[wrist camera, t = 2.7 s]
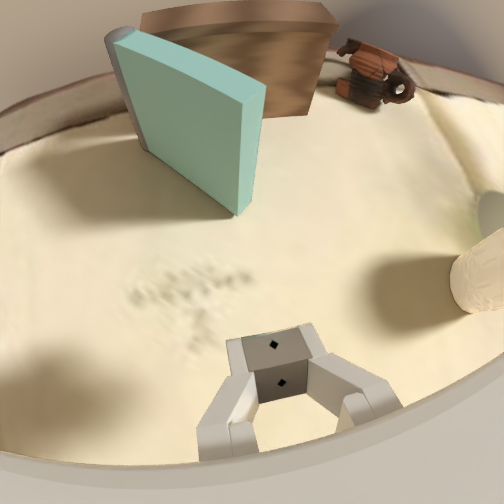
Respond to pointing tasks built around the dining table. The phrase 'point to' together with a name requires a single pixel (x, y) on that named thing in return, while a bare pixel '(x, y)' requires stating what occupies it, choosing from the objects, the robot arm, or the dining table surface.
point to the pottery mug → (373, 76)
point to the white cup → (480, 275)
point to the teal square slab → (191, 112)
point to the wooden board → (256, 43)
